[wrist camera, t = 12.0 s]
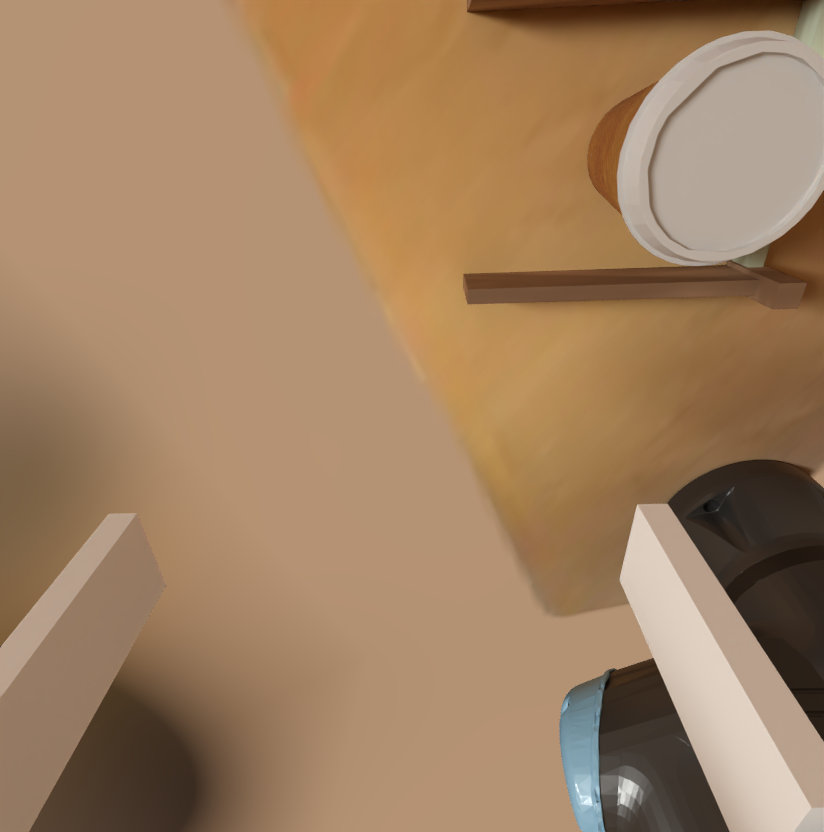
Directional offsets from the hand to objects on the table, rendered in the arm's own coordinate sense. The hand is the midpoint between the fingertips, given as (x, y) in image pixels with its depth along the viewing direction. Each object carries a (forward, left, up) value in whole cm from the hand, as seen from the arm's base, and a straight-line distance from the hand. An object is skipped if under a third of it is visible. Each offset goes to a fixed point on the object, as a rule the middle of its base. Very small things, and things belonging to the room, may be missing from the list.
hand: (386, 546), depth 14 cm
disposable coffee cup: (+8, -15, -27) cm, 32 cm away
